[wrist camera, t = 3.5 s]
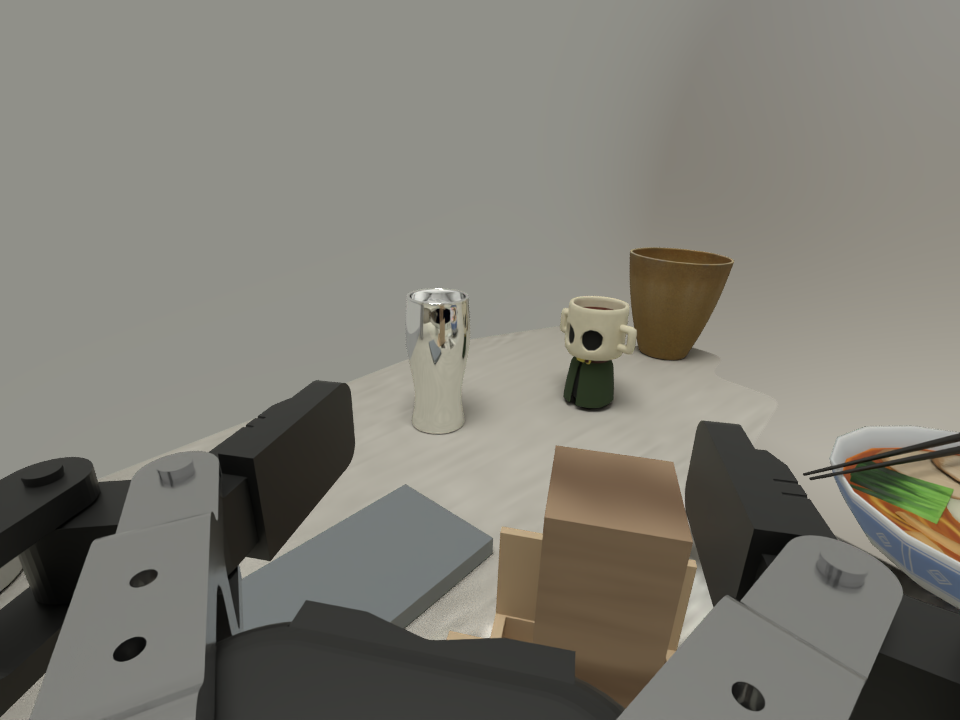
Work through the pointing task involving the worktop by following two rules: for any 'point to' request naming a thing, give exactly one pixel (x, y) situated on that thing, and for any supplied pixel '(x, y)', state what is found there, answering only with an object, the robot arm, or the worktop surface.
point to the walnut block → (611, 566)
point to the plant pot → (674, 297)
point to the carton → (522, 586)
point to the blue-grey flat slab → (371, 563)
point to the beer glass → (437, 356)
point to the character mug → (595, 347)
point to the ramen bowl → (905, 498)
